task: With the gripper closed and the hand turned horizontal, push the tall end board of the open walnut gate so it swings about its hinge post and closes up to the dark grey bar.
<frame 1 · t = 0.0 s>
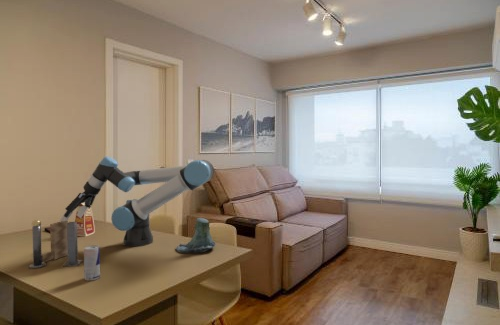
hand: (70, 219, 166), 15 cm above the table, tool tilted 35°, fingers open, 13 cm apart
gate: (54, 241, 150), point 8 cm above the table, hinge at 42.0°
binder: (67, 230, 211), on the table
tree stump: (196, 249, 166), on the table
milk carton: (84, 234, 198), on the table
hinge post: (37, 266, 142), on the table
energy drink: (92, 278, 127), on the table
dark grey bar: (73, 263, 144), on the table
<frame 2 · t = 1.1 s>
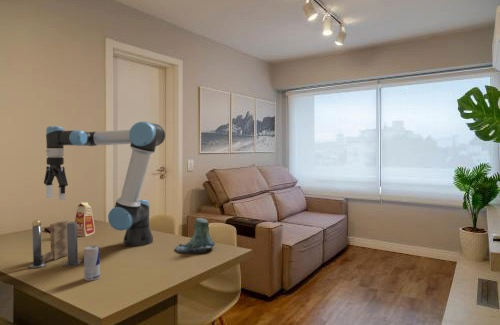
hand: (55, 198, 169), 25 cm above the table, tool pointing down, fingers open, 12 cm apart
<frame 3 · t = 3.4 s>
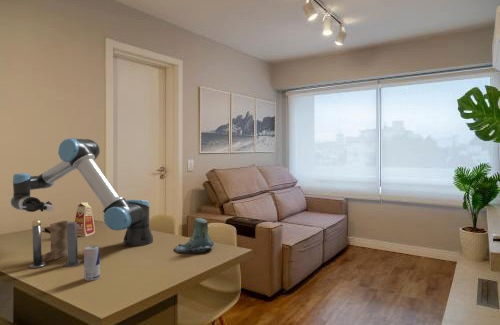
hand: (51, 208, 159), 22 cm above the table, tool horizontal, fingers closed
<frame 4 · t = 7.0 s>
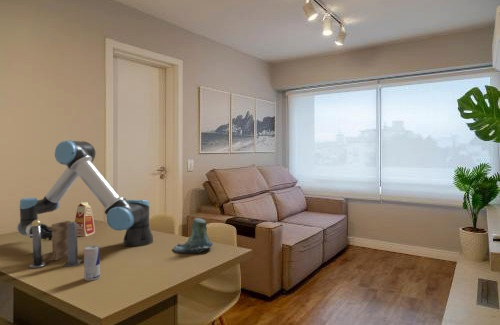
hand: (60, 237, 154), 9 cm above the table, tool horizontal, fingers closed
gate: (55, 241, 150), point 8 cm above the table, hinge at 35.6°, touching gripper
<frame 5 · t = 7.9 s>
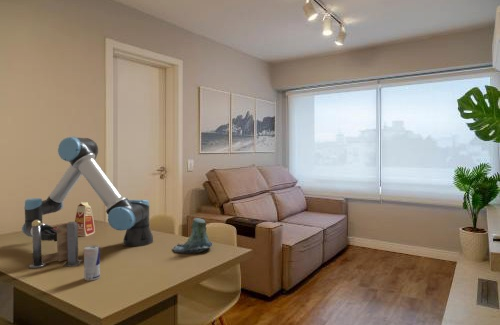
hand: (66, 238, 151), 9 cm above the table, tool horizontal, fingers closed
gate: (60, 242, 148), point 8 cm above the table, hinge at 12.1°, touching gripper
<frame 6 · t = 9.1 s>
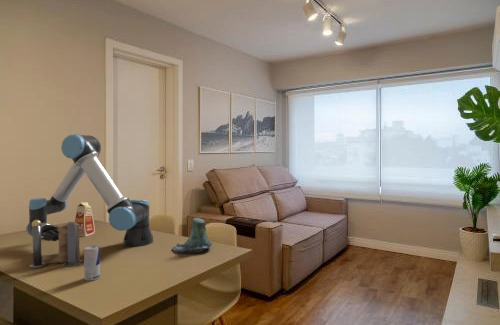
hand: (70, 239, 149), 9 cm above the table, tool horizontal, fingers closed
gate: (61, 243, 146), point 8 cm above the table, hinge at -4.1°, touching gripper, dark grey bar
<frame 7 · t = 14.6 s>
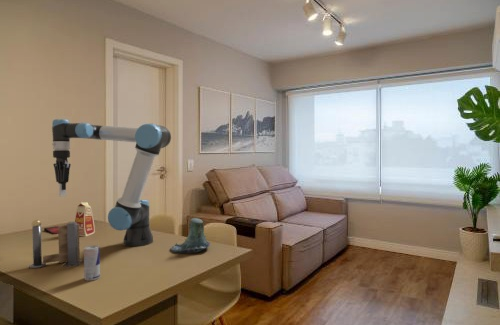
hand: (62, 196, 169), 26 cm above the table, tool pointing down, fingers closed
gate: (61, 243, 146), point 8 cm above the table, hinge at -4.1°, touching dark grey bar
at the end: gate at -4° (first picture: +42°) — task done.
